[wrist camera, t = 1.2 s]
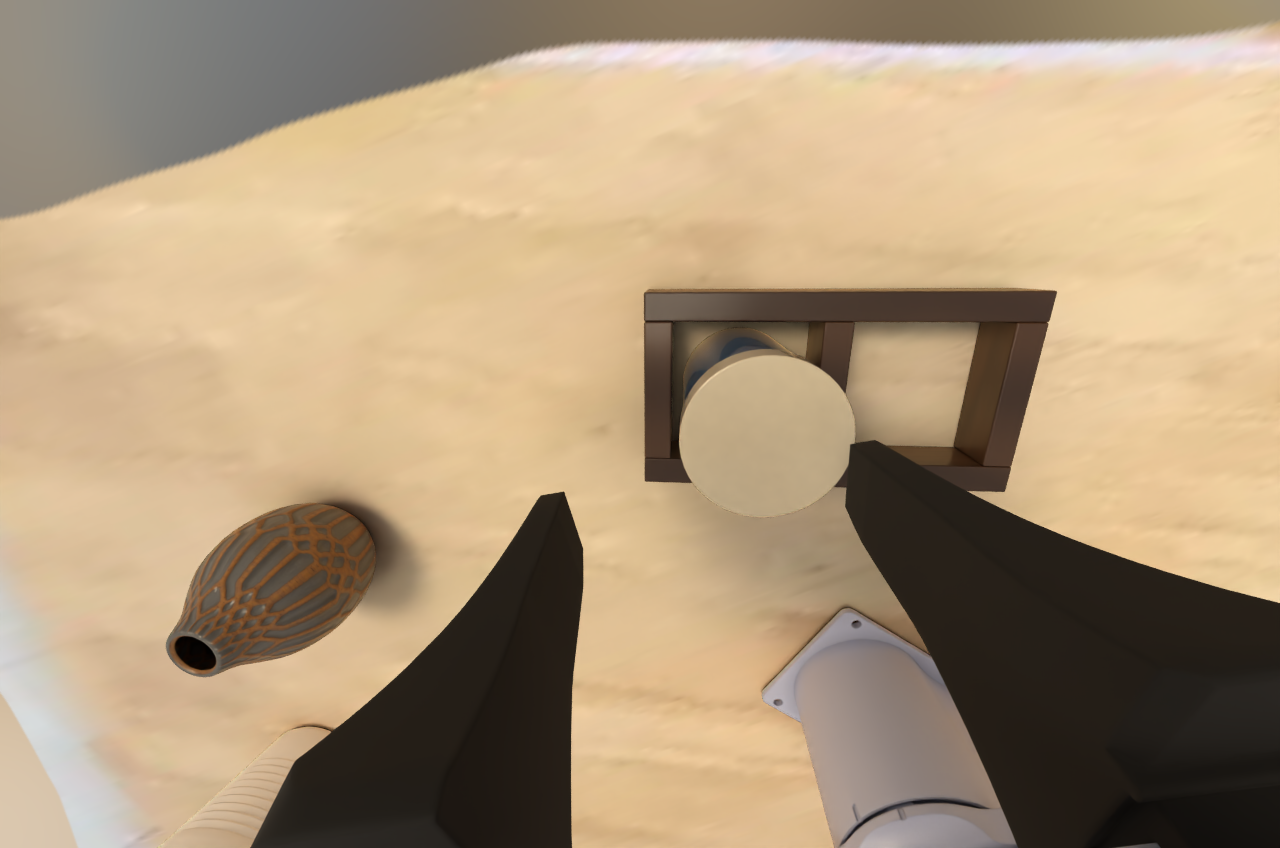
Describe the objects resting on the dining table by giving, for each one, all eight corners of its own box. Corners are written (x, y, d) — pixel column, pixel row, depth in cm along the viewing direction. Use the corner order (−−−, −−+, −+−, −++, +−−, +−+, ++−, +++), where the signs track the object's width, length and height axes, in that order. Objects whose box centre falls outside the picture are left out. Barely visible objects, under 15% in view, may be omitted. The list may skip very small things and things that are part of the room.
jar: (819, 364, 22) (894, 417, 14) (750, 455, 24) (783, 546, 16) (722, 300, 22) (745, 319, 14) (658, 398, 23) (646, 463, 16)
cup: (360, 821, 36) (228, 1050, 25) (237, 762, 35) (48, 974, 24) (410, 746, 33) (284, 971, 22) (278, 678, 32) (81, 881, 21)
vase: (259, 521, 28) (77, 630, 19) (337, 463, 26) (176, 555, 18) (341, 605, 29) (206, 740, 21) (420, 555, 27) (307, 681, 19)
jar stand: (973, 470, 23) (1005, 492, 21) (648, 462, 24) (644, 481, 22) (1016, 287, 20) (1058, 290, 18) (647, 289, 22) (643, 291, 19)
